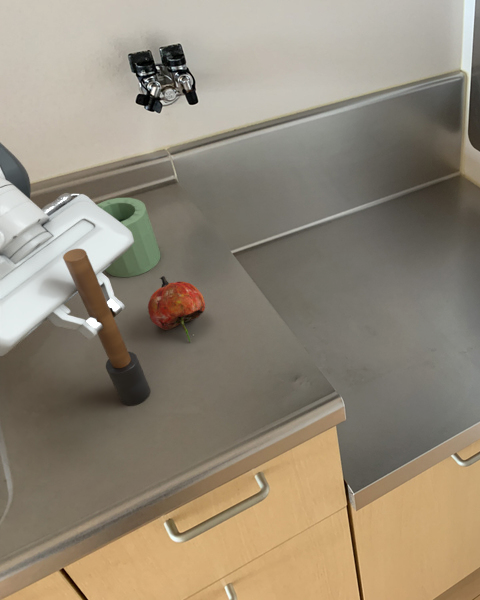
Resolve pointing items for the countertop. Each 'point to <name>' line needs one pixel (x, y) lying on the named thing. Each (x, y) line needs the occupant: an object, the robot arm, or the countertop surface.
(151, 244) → the green tube segment
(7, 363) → the countertop surface
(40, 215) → the robot arm
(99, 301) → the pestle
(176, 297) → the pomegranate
